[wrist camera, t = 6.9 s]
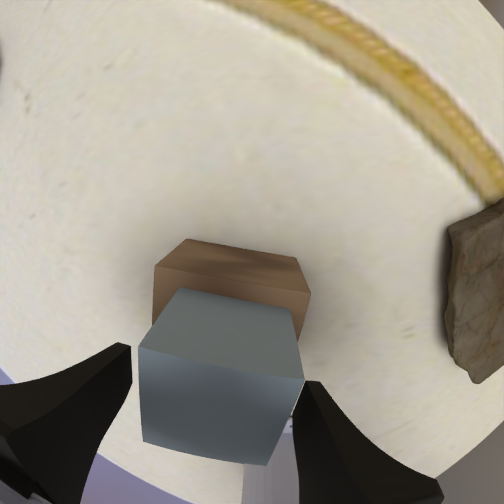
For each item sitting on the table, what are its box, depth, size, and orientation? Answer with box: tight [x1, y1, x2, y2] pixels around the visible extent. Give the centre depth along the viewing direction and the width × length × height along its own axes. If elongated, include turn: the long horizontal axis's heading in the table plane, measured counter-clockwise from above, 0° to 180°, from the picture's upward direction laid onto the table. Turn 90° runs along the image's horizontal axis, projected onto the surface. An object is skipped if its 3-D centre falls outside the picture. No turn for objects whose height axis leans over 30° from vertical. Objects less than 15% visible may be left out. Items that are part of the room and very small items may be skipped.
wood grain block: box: [152, 239, 311, 343], centre depth 16 cm, size 7×7×6 cm
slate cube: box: [138, 287, 305, 466], centre depth 11 cm, size 5×5×5 cm
